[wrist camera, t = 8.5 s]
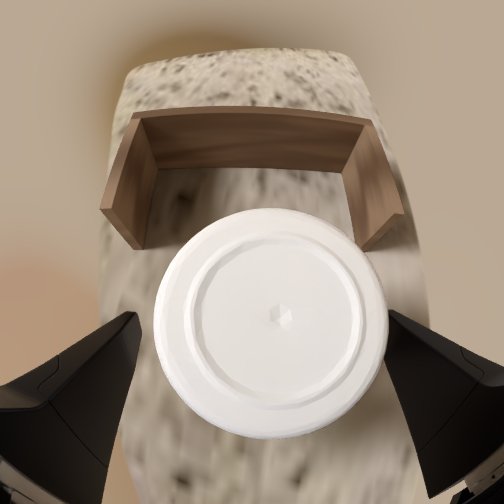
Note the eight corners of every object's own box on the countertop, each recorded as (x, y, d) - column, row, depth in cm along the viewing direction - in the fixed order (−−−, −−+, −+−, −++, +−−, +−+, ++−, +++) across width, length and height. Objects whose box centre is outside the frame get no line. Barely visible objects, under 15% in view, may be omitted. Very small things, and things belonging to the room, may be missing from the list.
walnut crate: (365, 251, 20) (404, 214, 14) (133, 249, 19) (99, 208, 13) (347, 166, 23) (371, 120, 17) (151, 162, 22) (133, 112, 16)
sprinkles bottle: (269, 390, 16) (349, 468, 3) (203, 363, 16) (107, 379, 4) (294, 326, 18) (413, 249, 5) (230, 301, 18) (214, 169, 5)
